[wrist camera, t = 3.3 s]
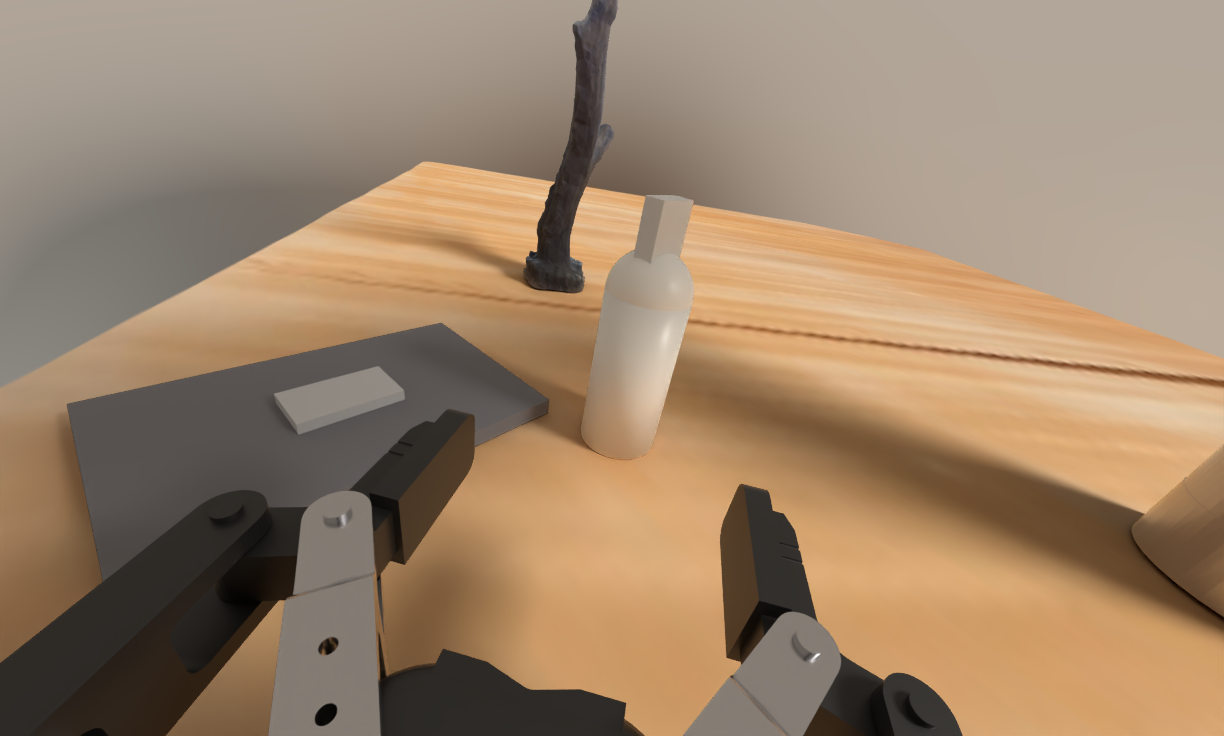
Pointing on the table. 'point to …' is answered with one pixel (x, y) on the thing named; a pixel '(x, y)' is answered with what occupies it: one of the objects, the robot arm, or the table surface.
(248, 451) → the dock mat
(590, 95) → the bare tree trunk
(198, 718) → the table surface
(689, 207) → the white tabbed cylinder
